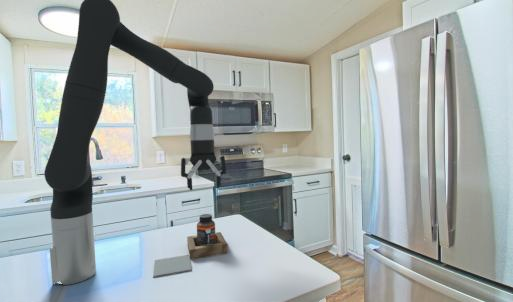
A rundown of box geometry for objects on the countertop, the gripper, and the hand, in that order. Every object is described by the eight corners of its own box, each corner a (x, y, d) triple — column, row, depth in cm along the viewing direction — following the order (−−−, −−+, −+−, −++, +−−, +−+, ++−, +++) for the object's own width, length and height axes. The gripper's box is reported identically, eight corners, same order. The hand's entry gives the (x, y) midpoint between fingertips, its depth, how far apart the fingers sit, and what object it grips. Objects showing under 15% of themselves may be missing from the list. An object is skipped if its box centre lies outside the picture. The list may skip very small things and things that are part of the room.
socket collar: (190, 259, 82) (189, 249, 82) (187, 245, 93) (187, 236, 93) (227, 253, 85) (227, 244, 85) (220, 240, 96) (220, 232, 96)
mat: (153, 277, 72) (153, 276, 72) (154, 261, 81) (154, 260, 81) (191, 270, 75) (191, 269, 75) (188, 255, 84) (188, 254, 84)
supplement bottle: (214, 252, 86) (212, 218, 86) (195, 253, 86) (194, 218, 86) (217, 245, 92) (216, 212, 91) (199, 245, 92) (198, 213, 92)
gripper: (179, 139, 81) (182, 192, 82) (226, 138, 86) (228, 188, 87) (178, 139, 88) (181, 188, 89) (221, 138, 93) (223, 184, 94)
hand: (204, 188), depth 88 cm, fingers open, 8 cm apart
